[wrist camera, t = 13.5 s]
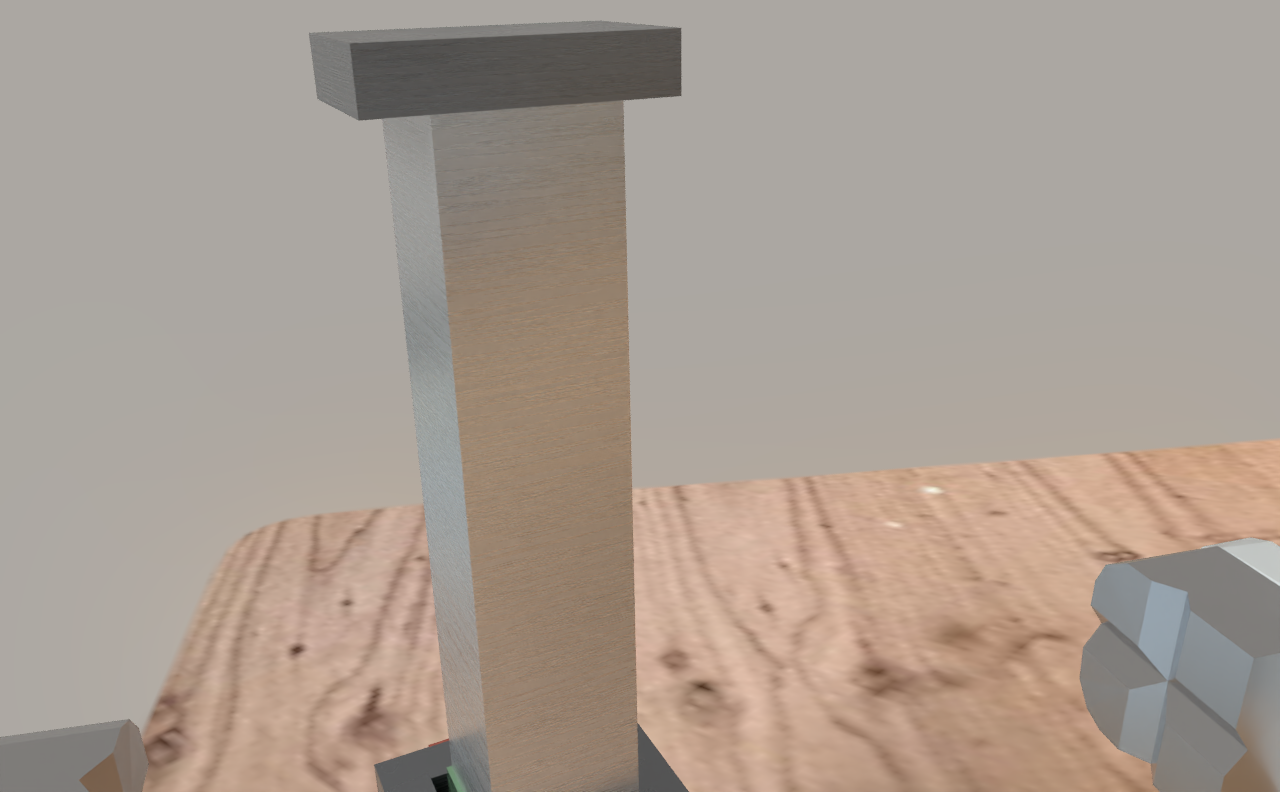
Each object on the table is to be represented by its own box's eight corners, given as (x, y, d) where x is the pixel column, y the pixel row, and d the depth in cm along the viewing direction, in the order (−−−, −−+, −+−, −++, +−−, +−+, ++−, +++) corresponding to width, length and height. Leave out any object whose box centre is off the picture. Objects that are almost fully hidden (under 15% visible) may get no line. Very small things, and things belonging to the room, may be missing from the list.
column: (623, 872, 26) (597, 20, 19) (685, 974, 23) (684, 27, 16) (427, 952, 24) (307, 32, 17) (470, 1073, 21) (351, 43, 14)
